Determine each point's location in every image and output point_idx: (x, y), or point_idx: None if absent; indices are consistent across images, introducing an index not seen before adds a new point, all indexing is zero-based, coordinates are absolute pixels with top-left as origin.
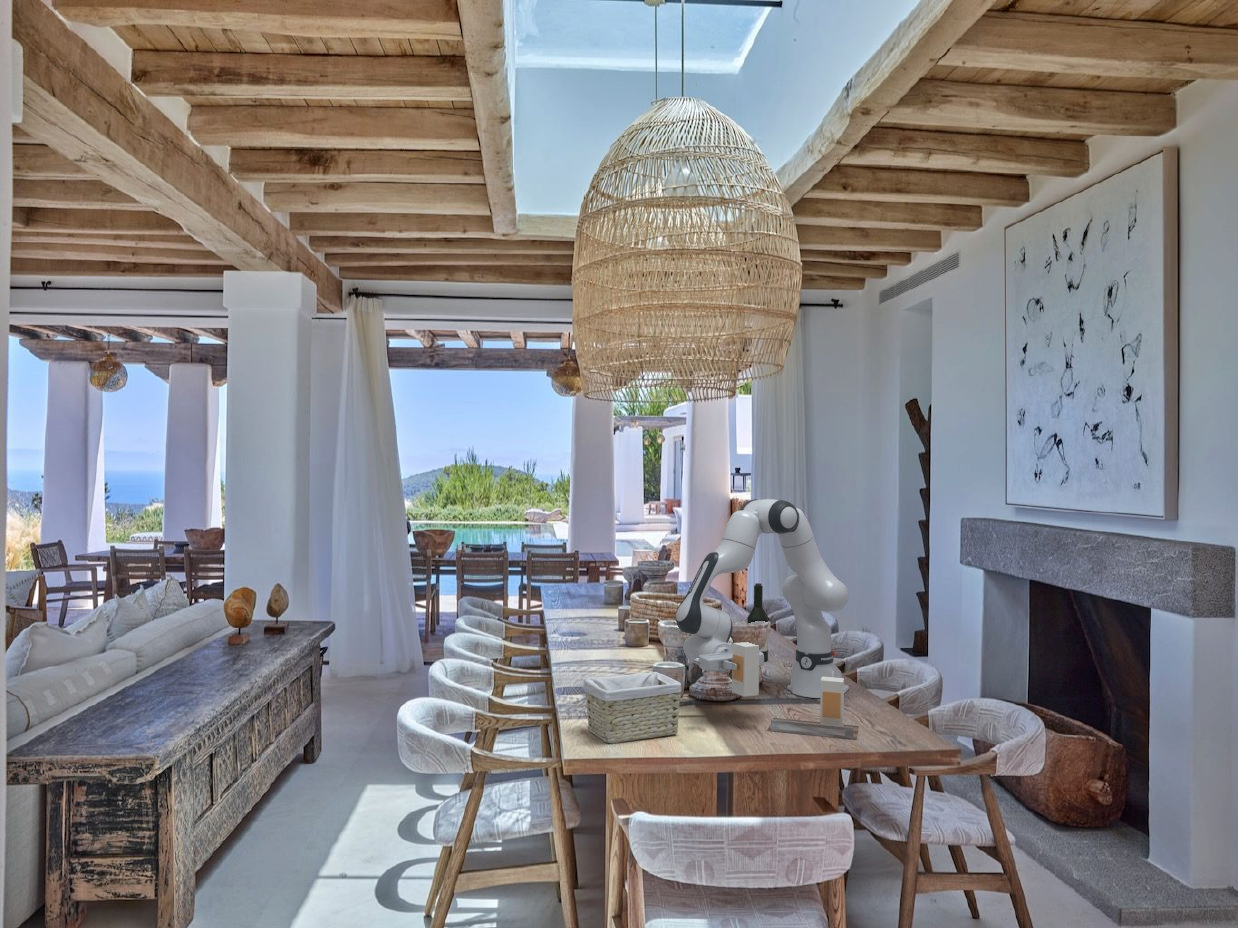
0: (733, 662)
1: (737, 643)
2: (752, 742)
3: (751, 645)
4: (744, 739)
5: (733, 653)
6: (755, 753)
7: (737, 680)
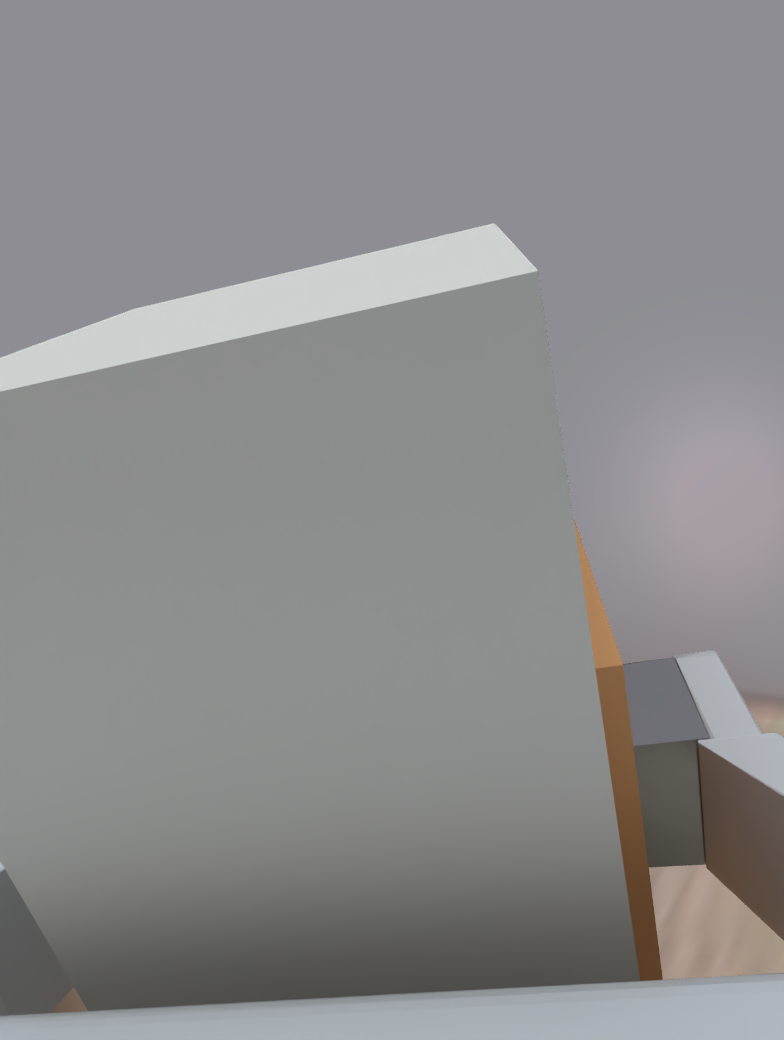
0: (641, 865)
1: (372, 290)
2: (707, 879)
3: (245, 287)
4: (749, 962)
5: (590, 668)
6: (768, 717)
7: None
